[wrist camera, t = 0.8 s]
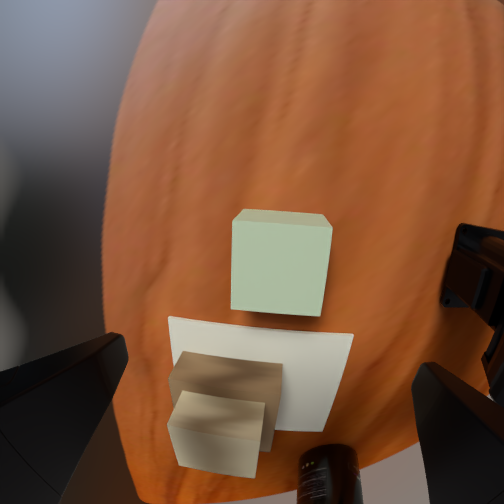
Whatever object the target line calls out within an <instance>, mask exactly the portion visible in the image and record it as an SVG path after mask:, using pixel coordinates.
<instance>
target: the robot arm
mask: <svg viewBox="0 0 504 504" xmlns="http://www.w3.org/2000/svg"><path fill="white" fill-rule="evenodd" d="M463 228H465V230H464V232H463V233H462V230H463ZM446 299H448V300H447V301H446ZM445 301H446V302H445ZM440 303H441V304H442V305H443V306H444V307H470V308H471V309H472V310H473V311H474V312H475V313H476V314H477V315H478V316H479V317H480V318H481V319H483V320H484V321H485V322H486V323H487V324H488V325H489V326H490V327H491V328H492V329H493V330H494V331H495V332H494V335H493V337H492V339H491V342H490V344H489V346H488V348H487V350H486V352H484V354H483V356H482V358H481V361H482V364H483V367H484V370H485V373H486V376H487V380H488V383H489V387H490V389H489V394H490V396H491V398H492V399H493V401H492V400H491V399H489V398H488V397H486V396H485V395H483V394H482V393H480V392H479V391H477V390H476V389H474V388H473V387H471V386H470V385H468V384H467V383H465V382H464V381H462V380H461V379H459V378H458V377H456V376H455V375H453V374H452V373H450V372H449V371H447V370H446V369H444V368H443V367H441V366H440V365H438V364H437V363H435V362H424V363H422V364H421V365H420V367H419V369H418V371H417V374H416V376H415V378H414V380H413V382H412V387H411V390H412V397H413V404H414V411H415V419H416V426H417V432H418V437H419V442H420V446H421V451H422V455H423V461H424V467H425V473H426V479H427V485H428V492H429V500H430V504H504V231H501V230H497V229H492V228H487V227H482V226H477V225H472V224H466V223H461V224H459V226H458V228H457V233H456V239H455V244H454V248H453V252H452V256H451V261H450V265H449V269H448V273H447V277H446V281H445V285H444V289H443V292H442V296H441V299H440ZM127 363H128V352H127V347H126V343H125V339H124V337H123V335H121V334H118V333H114V332H110V333H107V334H104V335H102V336H100V337H96V338H94V339H91V340H89V341H86V342H83V343H80V344H78V345H75V346H72V347H69V348H67V349H64V350H61V351H59V352H56V353H53V354H50V355H47V356H45V357H42V358H39V359H36V360H33V361H30V362H28V363H25V364H22V365H20V366H16V367H13V368H10V369H7V370H4V371H1V372H0V504H59V502H60V500H61V498H62V495H63V493H64V491H65V489H66V487H67V485H68V483H69V481H70V479H71V476H72V475H73V473H74V471H75V469H76V467H77V465H78V463H79V461H80V459H81V457H82V455H83V453H84V451H85V449H86V447H87V445H88V443H89V441H90V439H91V437H92V435H93V434H94V432H95V430H96V428H97V426H98V424H99V422H100V421H101V419H102V417H103V415H104V413H105V411H106V410H107V408H108V406H109V404H110V402H111V400H112V398H113V396H114V394H115V391H116V389H117V386H118V384H119V382H120V379H121V377H122V375H123V372H124V370H125V368H126V365H127Z"/></svg>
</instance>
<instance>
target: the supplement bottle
mask: <svg viewBox="0 0 504 504" xmlns="http://www.w3.org/2000/svg"><path fill="white" fill-rule="evenodd" d="M297 504H363V495H362V487H361V479H360V471H359V464H358V458H357V454H356V452H355V450H354V449H352V448H351V447H349V446H346V445H340V444H331V445H323V446H319V447H316V448H313V449H311V450H309V451H307V452H306V453H304V454H303V455H302V456H301V458H300V459H299V463H298V483H297Z"/></svg>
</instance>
